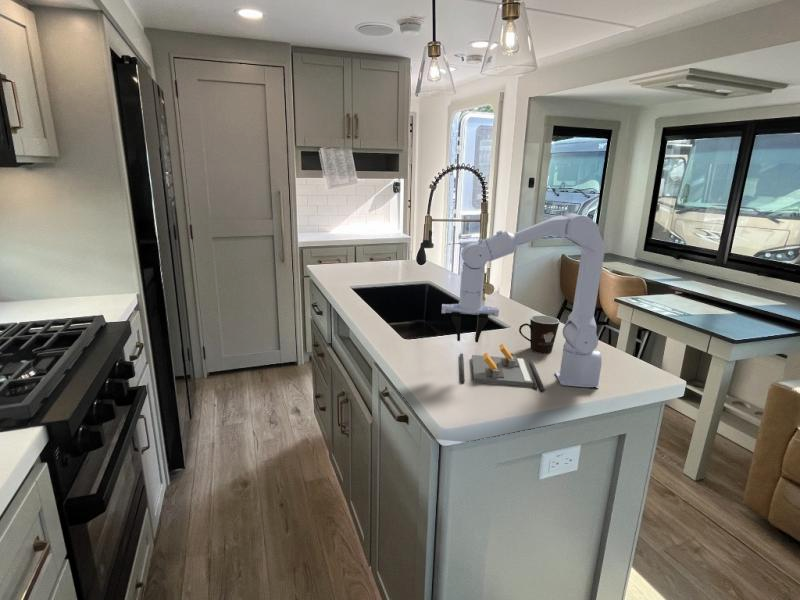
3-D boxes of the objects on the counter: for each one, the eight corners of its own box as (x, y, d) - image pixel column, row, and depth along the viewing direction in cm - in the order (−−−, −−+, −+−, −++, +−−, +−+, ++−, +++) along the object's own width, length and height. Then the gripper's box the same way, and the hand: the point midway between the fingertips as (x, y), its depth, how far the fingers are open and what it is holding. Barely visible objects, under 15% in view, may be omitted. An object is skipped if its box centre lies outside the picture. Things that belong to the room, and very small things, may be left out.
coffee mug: (554, 347, 147) (558, 317, 144) (556, 356, 139) (560, 325, 136) (517, 342, 150) (520, 313, 147) (516, 351, 142) (520, 320, 139)
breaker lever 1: (497, 366, 124) (486, 352, 123) (498, 372, 120) (487, 357, 119) (493, 368, 124) (482, 354, 123) (494, 374, 120) (483, 360, 120)
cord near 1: (532, 362, 134) (532, 359, 133) (544, 392, 115) (545, 388, 115) (528, 362, 134) (529, 359, 133) (540, 391, 115) (541, 388, 115)
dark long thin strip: (527, 363, 133) (527, 360, 132) (537, 389, 116) (538, 386, 116) (524, 363, 133) (524, 360, 133) (533, 389, 116) (534, 385, 116)
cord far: (463, 356, 136) (463, 353, 136) (464, 383, 118) (464, 380, 118) (459, 355, 137) (459, 352, 136) (460, 383, 118) (460, 380, 118)
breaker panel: (523, 362, 133) (525, 352, 132) (532, 386, 118) (534, 375, 117) (471, 358, 135) (472, 348, 134) (474, 382, 119) (475, 370, 119)
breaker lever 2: (512, 356, 131) (502, 343, 130) (514, 361, 127) (504, 348, 127) (509, 358, 131) (499, 345, 131) (510, 364, 128) (500, 350, 127)
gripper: (498, 288, 120) (494, 337, 124) (443, 285, 122) (440, 333, 125) (501, 295, 114) (496, 346, 117) (442, 291, 115) (439, 342, 119)
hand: (467, 340), depth 121 cm, fingers open, 4 cm apart
